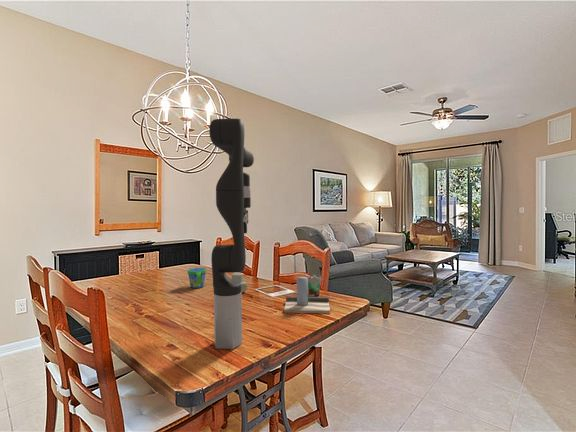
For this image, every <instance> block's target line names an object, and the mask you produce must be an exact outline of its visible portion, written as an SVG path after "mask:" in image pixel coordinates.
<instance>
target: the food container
mask: <svg viewBox="0 0 576 432" xmlns="http://www.w3.org/2000/svg"><path fill="white" fill-rule="evenodd" d="M321 282H322V277H321V275H320V274H317V273H311V274H310V276H309V278H308V297H320V290H321V289H320V287H321Z"/></svg>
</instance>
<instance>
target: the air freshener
mask: <svg viewBox="0 0 576 432" xmlns="http://www.w3.org/2000/svg"><path fill="white" fill-rule="evenodd" d="M243 278H244V277H243V273H242V272H239V273H231V279H232V280H235V281H237V282H239V283H240V284H241V289H242V291H241V292H242V293H244V292H246V291H247V289H248V287H249V286H248V283H247V282H246V281H243Z"/></svg>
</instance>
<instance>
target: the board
mask: <svg viewBox="0 0 576 432" xmlns="http://www.w3.org/2000/svg"><path fill="white" fill-rule="evenodd" d="M329 297H330V296H318V297H308V305H303V306H302V305H297V296H286V297H285V299H286V300H285V305H284V307H283V313H285V314H286V313H289V314H331V309H330V298H329Z"/></svg>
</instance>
